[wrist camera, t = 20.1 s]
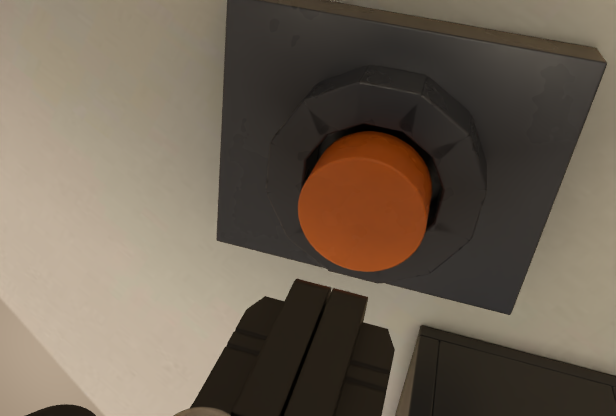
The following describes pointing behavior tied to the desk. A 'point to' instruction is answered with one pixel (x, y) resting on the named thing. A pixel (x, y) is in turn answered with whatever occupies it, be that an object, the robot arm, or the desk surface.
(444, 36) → the panel
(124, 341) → the desk surface
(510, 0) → the desk surface
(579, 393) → the divided tray
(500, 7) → the desk surface
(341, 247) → the button
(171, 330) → the desk surface
